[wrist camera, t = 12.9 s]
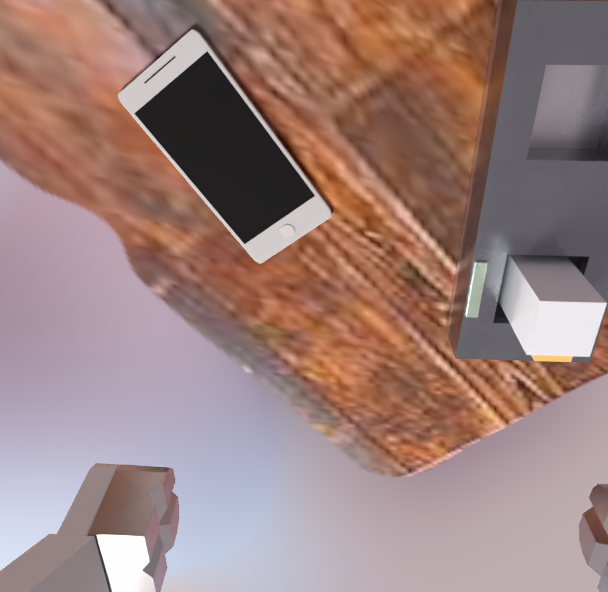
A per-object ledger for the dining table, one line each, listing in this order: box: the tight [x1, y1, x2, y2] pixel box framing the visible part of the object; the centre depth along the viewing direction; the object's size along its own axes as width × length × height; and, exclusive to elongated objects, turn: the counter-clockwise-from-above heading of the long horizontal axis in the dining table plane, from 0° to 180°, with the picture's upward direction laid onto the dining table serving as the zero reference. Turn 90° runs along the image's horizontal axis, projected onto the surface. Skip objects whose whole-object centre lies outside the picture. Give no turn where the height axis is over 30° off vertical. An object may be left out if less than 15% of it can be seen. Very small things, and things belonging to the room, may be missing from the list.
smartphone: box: [118, 29, 331, 263], centre depth 39 cm, size 7×15×1 cm, turn 36°
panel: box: [446, 0, 608, 362], centre depth 38 cm, size 24×10×4 cm, turn 0°
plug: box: [498, 255, 607, 362], centre depth 38 cm, size 5×4×8 cm
